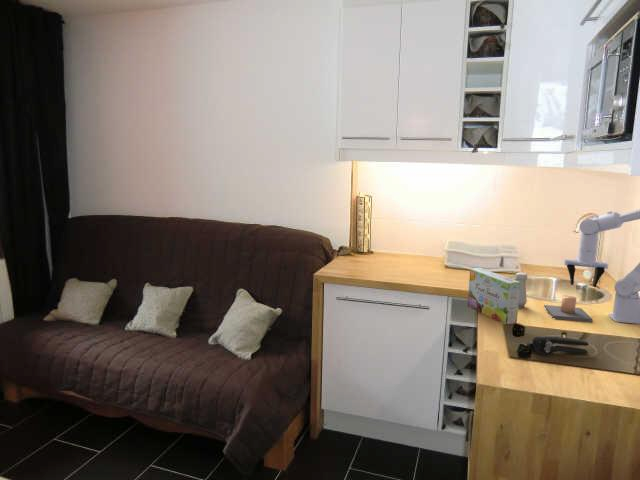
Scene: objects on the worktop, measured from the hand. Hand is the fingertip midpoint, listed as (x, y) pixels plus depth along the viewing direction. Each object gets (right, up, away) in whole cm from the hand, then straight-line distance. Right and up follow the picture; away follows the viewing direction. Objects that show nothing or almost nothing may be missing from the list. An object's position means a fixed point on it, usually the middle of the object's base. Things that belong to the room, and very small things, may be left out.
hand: (583, 285), depth 188 cm
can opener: (-30, -16, -42) cm, 54 cm away
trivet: (-9, -10, -6) cm, 15 cm away
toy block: (-9, -9, -6) cm, 14 cm away
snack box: (-38, -10, -9) cm, 40 cm away
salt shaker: (-23, -8, +3) cm, 25 cm away
